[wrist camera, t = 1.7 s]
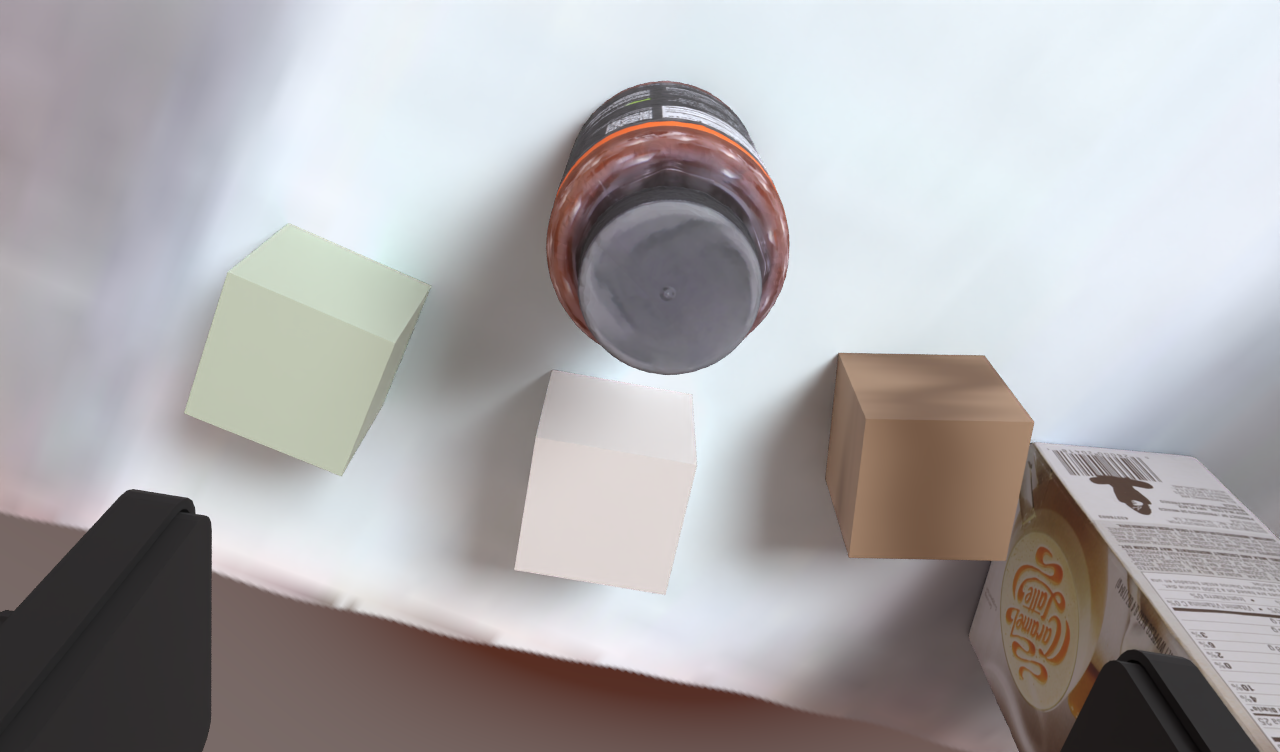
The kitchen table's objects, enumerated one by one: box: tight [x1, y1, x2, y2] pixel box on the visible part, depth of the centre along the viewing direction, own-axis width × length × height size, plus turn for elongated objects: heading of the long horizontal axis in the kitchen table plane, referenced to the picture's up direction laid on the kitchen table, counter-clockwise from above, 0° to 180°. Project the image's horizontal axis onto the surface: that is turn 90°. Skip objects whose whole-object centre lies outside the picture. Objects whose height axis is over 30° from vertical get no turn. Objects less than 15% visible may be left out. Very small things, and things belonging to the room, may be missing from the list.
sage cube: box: [184, 223, 431, 476], centre depth 31 cm, size 5×5×5 cm
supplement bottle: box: [546, 81, 789, 375], centre depth 26 cm, size 6×6×11 cm
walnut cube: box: [825, 353, 1034, 561], centre depth 32 cm, size 5×5×5 cm
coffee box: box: [969, 442, 1280, 752], centre depth 29 cm, size 9×6×16 cm
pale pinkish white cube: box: [514, 370, 697, 595], centre depth 33 cm, size 5×5×5 cm
